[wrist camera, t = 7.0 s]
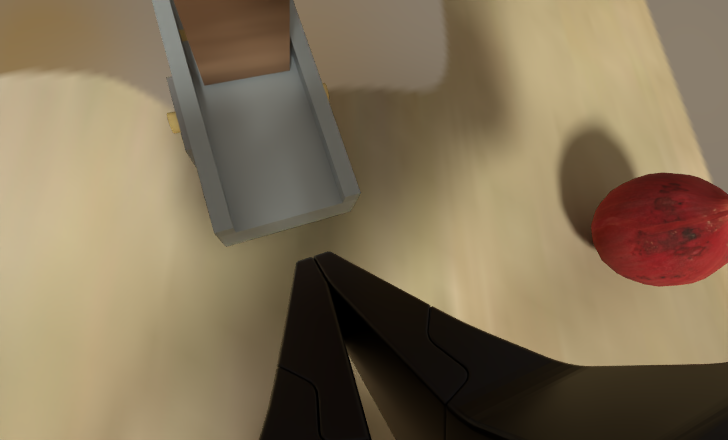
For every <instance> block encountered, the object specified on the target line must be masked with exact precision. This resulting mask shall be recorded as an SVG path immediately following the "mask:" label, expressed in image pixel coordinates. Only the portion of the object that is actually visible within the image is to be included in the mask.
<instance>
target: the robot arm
mask: <svg viewBox="0 0 728 440" xmlns="http://www.w3.org/2000/svg"><path fill="white" fill-rule="evenodd" d="M348 354H349V356H350V358H351V360H352V362H353V363H354V365H355V367H356V369H357V371H358V372H359V374H360V376H361V378H362V380H363V381H364V383H365V385H366V387H367V389H368V390H369V392H370V394H371V396H372V398H373V399H374V401H375V403H376V405H377V407H378V408H379V410H380V412H381V414H382V416H383V418H384V419H385V421H386V423H387V425H388V427H389V428H390V430H391V432H392V434H393V436H394V437H395V439H396V440H728V362H725V363H715V364H689V365H635V366H579V365H573V364H568V363H564V362H560V361H557V360H554V359H551V358H548V357H545V356H543V355H541V354H538V353H536V352H533V351H531V350H528V349H526V348H523V347H521V346H519V345H516V344H514V343H511V342H509V341H506V340H504V339H501V338H499V337H497V336H494V335H492V334H489V333H487V332H485V331H482V330H480V329H478V328H475V327H473V326H471V325H469V324H466V323H464V322H462V321H460V320H458V319H456V318H454V317H452V316H450V315H448V314H446V313H444V312H442V311H441V310H439V309H437V308H435V307H433V306H432V307H430V305H429V304H427V303H425V302H423V301H422V300H420V299H418V298H416V297H414V296H412V295H410V294H408V293H407V292H405V291H403V290H401V289H399V288H397V287H395V286H394V285H392V284H390V283H388V282H386V281H384V280H382V279H380V278H379V277H377V276H375V275H373V274H371V273H369V272H367V271H365V270H364V269H362V268H360V267H358V266H356V265H354V264H352V263H351V262H349V261H347V260H345V259H343V258H341V257H339V256H337V255H336V254H334V253H332V252H325V253H322V254H319V255H316V256H315V257H314V259H313V258H312V257H310V258H307V259H304V260H300V261H298V262H297V263H296V266H295V272H294V277H293V283H292V288H291V294H290V299H289V304H288V310H287V315H286V321H285V326H284V332H283V337H282V343H281V348H280V353H279V359H278V364H277V367H278V368H277V369H276V374H275V380H274V385H273V389H272V394H271V398H270V403H269V407H268V411H267V414H266V418H265V421H264V424H263V428H262V431H261V434H260V438H259V440H372V439H371V436H370V432H369V428H368V425H367V421H366V418H365V414H364V410H363V407H362V403H361V399H360V396H359V392H358V389H357V385H356V381H355V378H354V374H353V370H352V367H351V363H350V359H349V356H348Z"/></svg>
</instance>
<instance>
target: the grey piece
mask: <svg viewBox="0 0 728 440" xmlns="http://www.w3.org/2000/svg"><path fill="white" fill-rule="evenodd" d="M152 3H153V7H154V10H155V14H156V18H157V21H158V25H159V29H160V33H161V37H162V40H163V44H164V48H165V52H166V55H167V59H168V62H169V66H170V70H171V74H172V77H167V82H168V85H169V89H170V93H171V97H172V101H173V105H174V108H175V112H171V113H167V117H168V121H169V124H170V127H171V129H172V131H173V133H179V132H181V135H182V139H183V142H184V146H185V150H186V152H187V154H188V155H189V157H190V158H191V160H192V162H193V163H194V165H195V167H197V171H198V175H199V178H200V182H201V186H202V189H203V193H204V197H205V201H206V204H207V208H208V212H209V216H210V219H211V223H212V227H213V230H214V233H215V235H216V236H217V237H218V238H219V239H220V240H221V242H222V243H223V244H224V245H225V246H226V247H227V246H231V245H234V244H238V243H241V242H245V241H248V240H252V239H255V238H259V237H262V236H266V235H269V234H273V233H276V232H280V231H283V230H287V229H290V228H294V227H297V226H301V225H304V224H308V223H311V222H315V221H318V220H322V219H325V218H329V217H332V216H336V215H339V214H343V213H346V212H350V211H351V210H352V208H353V206H354V204H355V203H356V201H357V199H358V197H359V195H360V194H361V192H360V189H359V186H358V184H357V181H356V178H355V175H354V172H353V169H352V167H351V164H350V161H349V158H348V155H347V152H346V149H345V147H344V144H343V141H342V138H341V135H340V132H339V130H338V127H337V124H336V121H335V118H334V115H333V112H332V110H331V107H330V104H329V93H328V89H327V86H326V84H325V83H323V84H322V81H321V78H320V76H319V73H318V70H317V67H316V64H315V61H314V58H313V56H312V53H311V50H310V47H309V44H308V41H307V38H306V36H305V33H304V30H303V27H302V24H301V21H300V19H299V16H298V13H297V10H296V7H295V4H294V1H293V0H290V71H284V72H278V73H273V74H267V75H262V76H256V77H250V78H245V79H239V80H233V81H228V82H222V83H217V84H211V85H205V86H204V83H203V81H202V78H201V75H200V72H199V70H198V67H197V64H196V61H195V58H194V56H193V53H192V50H191V47H190V45H189V42H188V39H187V36H186V34H185V31H184V28H183V25H182V23H181V20H180V17H179V14H178V12H177V9H176V6H175V3H174V1H173V0H152Z"/></svg>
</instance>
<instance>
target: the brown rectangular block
mask: <svg viewBox="0 0 728 440" xmlns="http://www.w3.org/2000/svg"><path fill="white" fill-rule="evenodd" d="M173 1H174V3H175V6H176V9H177V12H178V14H179V17H180V20H181V23H182V25H183V28H184V31H185V34H186V36H187V39H188V42H189V45H190V47H191V50H192V53H193V56H194V58H195V61H196V64H197V67H198V70H199V72H200V75H201V78H202V81H203V83H204V86H205V85H211V84H217V83H222V82H228V81H233V80H239V79H245V78H250V77H256V76H262V75H267V74H273V73H278V72H284V71H290V0H173Z"/></svg>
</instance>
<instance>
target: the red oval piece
mask: <svg viewBox="0 0 728 440" xmlns="http://www.w3.org/2000/svg"><path fill="white" fill-rule="evenodd" d="M591 230H592V238H593V244H594V246H595V248H596V250H597V252H598V254H599V256H600V257H601V259H602V261H603V262H604V263H606V264H607V265H608V266H609V267H610V268H611V269H613V270H614V271H615V272H616V273H618V274H620V275H621V276H623V277H625V278H628V279H631V280H633V281H636V282H639V283H642V284H647V285H653V286H674V285H683V284H690V283H694V282H697V281H700V280H702V279H705V278H706V277H708V276H709V275H711V274H713V273H714V272H716V271H717V270H718V269H720V268H721V267H722V266H724V265H725V264H727V263H728V194H727V193H725V192H724V191H723V190H722V189H720V188H718V187H717V186H715V185H713V184H711V183H709V182H708V181H705V180H703V179H701V178H699V177H695V176H691V175H684V174H673V173H655V174H648V175H644V176H641V177H638V178H635V179H633V180H630V181H628V182H626V183H623V184H622V185H620V186H618V187H617V188H615V189H613V190H612V191H611V192H610V193H609V194H608V195H607V196H606V197H605V198H604V200H603V201H602V202H601V203H600V205H599V206H598V208H597V209H596V211H595V214H594V218H593V221H592V224H591Z"/></svg>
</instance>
